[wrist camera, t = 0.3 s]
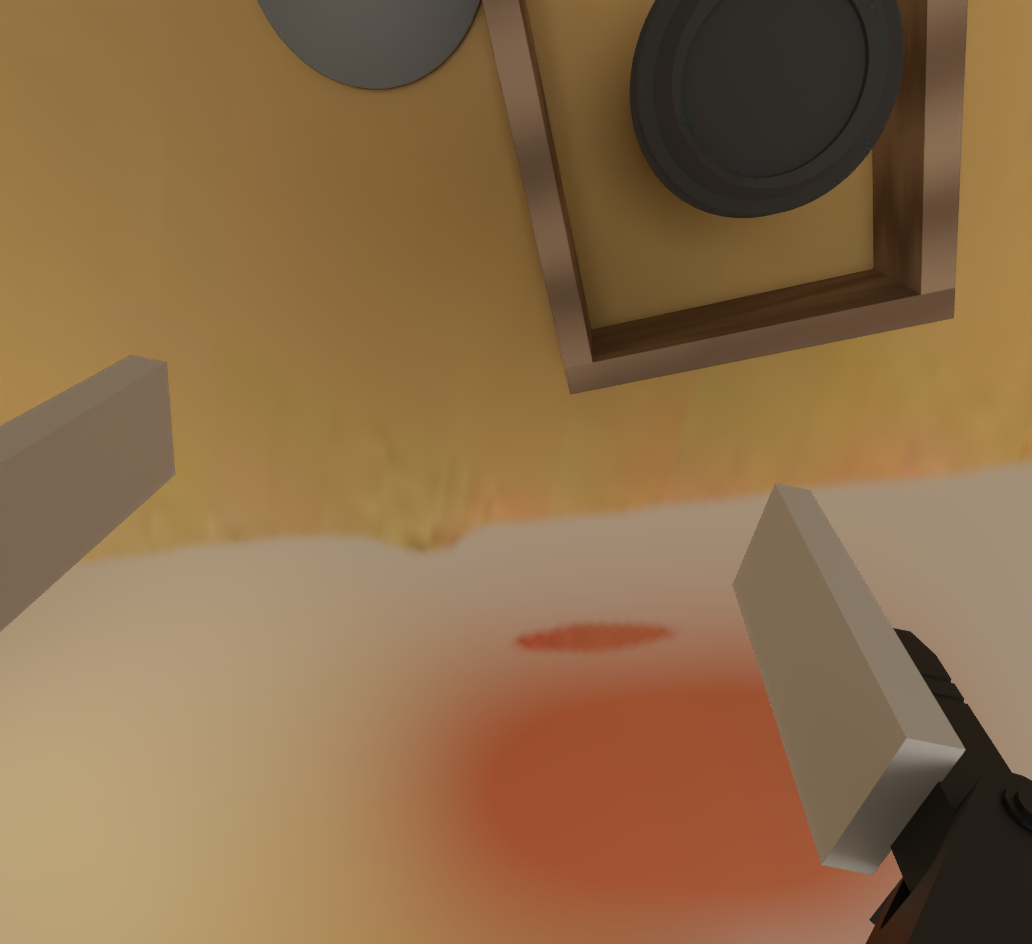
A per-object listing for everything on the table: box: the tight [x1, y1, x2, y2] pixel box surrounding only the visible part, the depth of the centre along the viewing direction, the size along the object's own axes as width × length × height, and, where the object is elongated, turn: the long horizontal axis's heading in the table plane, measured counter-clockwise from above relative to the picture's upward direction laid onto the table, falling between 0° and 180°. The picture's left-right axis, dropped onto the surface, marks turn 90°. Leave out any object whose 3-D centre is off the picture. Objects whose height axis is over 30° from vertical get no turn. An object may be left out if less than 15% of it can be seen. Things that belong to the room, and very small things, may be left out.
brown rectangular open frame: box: [482, 0, 968, 394], centre depth 33 cm, size 22×19×6 cm
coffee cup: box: [630, 0, 904, 218], centre depth 28 cm, size 9×9×15 cm
